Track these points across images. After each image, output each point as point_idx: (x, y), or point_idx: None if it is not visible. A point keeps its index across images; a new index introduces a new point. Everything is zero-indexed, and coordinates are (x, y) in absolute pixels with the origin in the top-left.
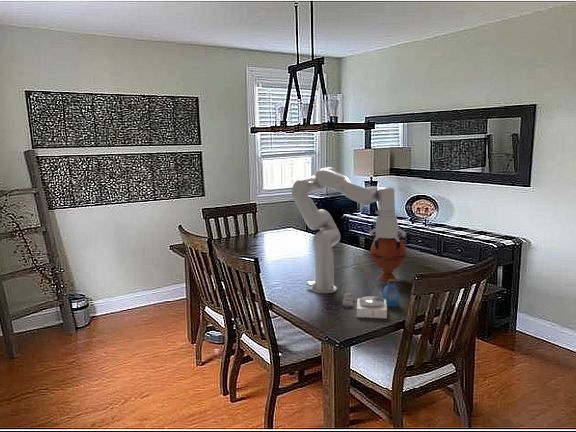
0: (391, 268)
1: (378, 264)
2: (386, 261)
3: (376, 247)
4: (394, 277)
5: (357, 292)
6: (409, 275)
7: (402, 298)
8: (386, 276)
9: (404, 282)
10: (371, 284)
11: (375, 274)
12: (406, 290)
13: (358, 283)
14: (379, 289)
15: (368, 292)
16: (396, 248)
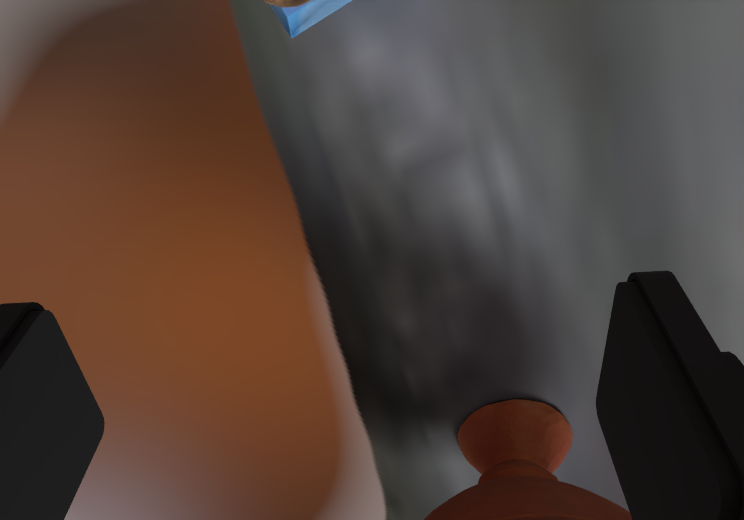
0: (481, 483)
1: (596, 496)
2: (522, 512)
3: (675, 302)
4: (464, 448)
5: (712, 100)
6: (395, 513)
7: (289, 113)
8: (516, 434)
9: (387, 412)
10: (609, 316)
11: (610, 482)
12: (324, 287)
13: (720, 304)
14: (525, 239)
15: (606, 140)
16: (22, 334)
